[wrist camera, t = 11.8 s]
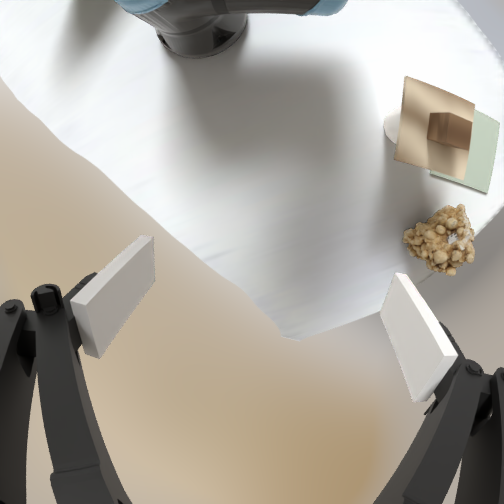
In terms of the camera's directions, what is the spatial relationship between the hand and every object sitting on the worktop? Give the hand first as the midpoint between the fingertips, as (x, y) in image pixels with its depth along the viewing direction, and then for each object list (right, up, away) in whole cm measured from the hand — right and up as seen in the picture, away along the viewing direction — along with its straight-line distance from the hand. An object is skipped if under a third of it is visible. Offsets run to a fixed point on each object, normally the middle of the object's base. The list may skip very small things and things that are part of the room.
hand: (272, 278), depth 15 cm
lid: (+22, +17, +14) cm, 31 cm away
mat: (+39, +21, +25) cm, 50 cm away
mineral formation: (+32, +7, +32) cm, 46 cm away
